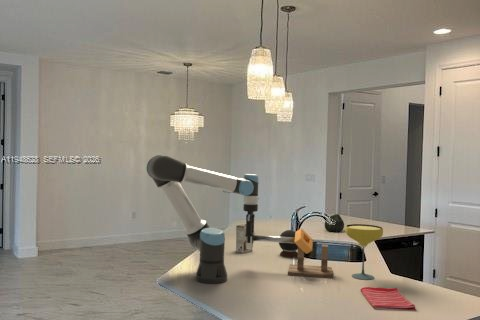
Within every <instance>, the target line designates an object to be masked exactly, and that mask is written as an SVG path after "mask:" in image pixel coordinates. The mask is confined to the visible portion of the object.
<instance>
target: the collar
mask: <svg viewBox="0 0 480 320" xmlns="http://www.w3.org/2000/svg"><path fill="white" fill-rule="evenodd" d="M313 240H314V239H313V238H312V237H311V236H310V235H309V234H308V233H307V232H306V231H305V230H304V229H303V228H302V227H300V228H299V229H298V230H296V231H295V242H294V243H295V244H296V245H297V246H298V247H299V248H300V249H301V250H302V251H303V252H304V254H306V255H307V254H309V253H311V252H313V247H314V245H313V243H314V241H313Z"/></svg>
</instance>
